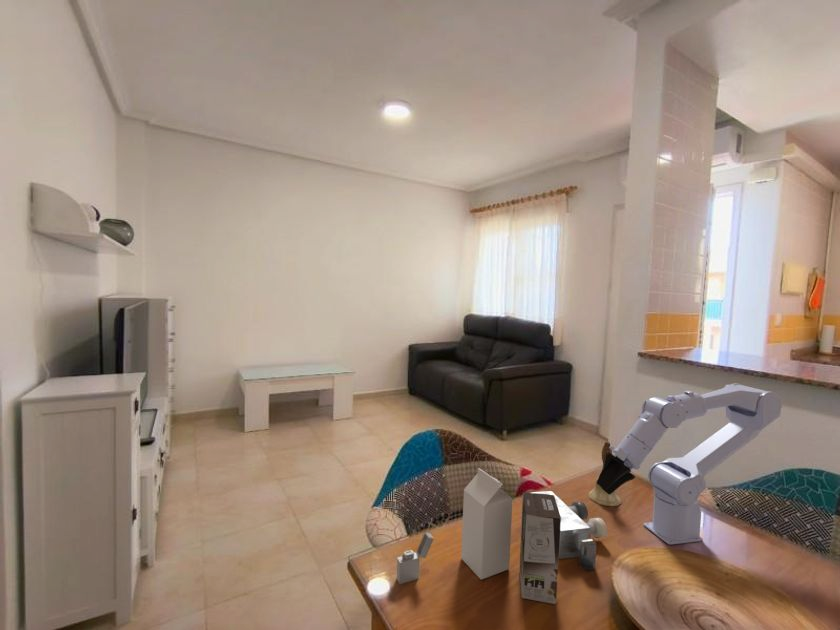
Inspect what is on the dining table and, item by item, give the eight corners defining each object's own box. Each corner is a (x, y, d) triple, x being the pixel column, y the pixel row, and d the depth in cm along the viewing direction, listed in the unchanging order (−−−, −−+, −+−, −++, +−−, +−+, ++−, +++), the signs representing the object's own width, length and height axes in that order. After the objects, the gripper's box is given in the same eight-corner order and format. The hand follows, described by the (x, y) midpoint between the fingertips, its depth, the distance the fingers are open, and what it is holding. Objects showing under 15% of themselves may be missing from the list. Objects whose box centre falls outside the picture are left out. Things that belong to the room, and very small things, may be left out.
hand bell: (581, 492, 114) (585, 438, 113) (606, 490, 116) (610, 436, 115) (601, 508, 106) (605, 449, 105) (628, 505, 108) (631, 447, 107)
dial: (588, 560, 84) (590, 535, 84) (598, 570, 82) (599, 544, 81) (576, 562, 84) (577, 536, 83) (584, 572, 81) (586, 545, 81)
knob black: (577, 514, 101) (578, 498, 100) (587, 523, 97) (588, 507, 96) (550, 516, 99) (551, 501, 99) (559, 525, 95) (560, 509, 95)
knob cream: (595, 530, 94) (596, 514, 93) (606, 540, 90) (607, 523, 90) (566, 533, 92) (567, 516, 92) (576, 544, 88) (577, 526, 88)
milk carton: (481, 581, 77) (485, 486, 76) (460, 558, 84) (464, 471, 83) (509, 570, 81) (513, 479, 80) (488, 549, 87) (491, 465, 86)
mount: (550, 514, 102) (551, 490, 101) (588, 555, 86) (590, 527, 86) (524, 516, 100) (525, 492, 100) (559, 558, 85) (561, 530, 84)
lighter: (399, 584, 76) (400, 544, 75) (396, 578, 77) (397, 538, 77) (432, 574, 79) (434, 535, 78) (428, 568, 80) (430, 530, 80)
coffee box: (557, 605, 72) (562, 519, 71) (520, 598, 73) (524, 514, 72) (551, 571, 81) (555, 494, 80) (518, 565, 82) (522, 490, 81)
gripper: (625, 438, 100) (592, 481, 99) (619, 423, 89) (582, 471, 88) (653, 457, 95) (618, 503, 94) (650, 443, 84) (611, 494, 83)
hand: (602, 489), depth 91 cm, fingers open, 7 cm apart
